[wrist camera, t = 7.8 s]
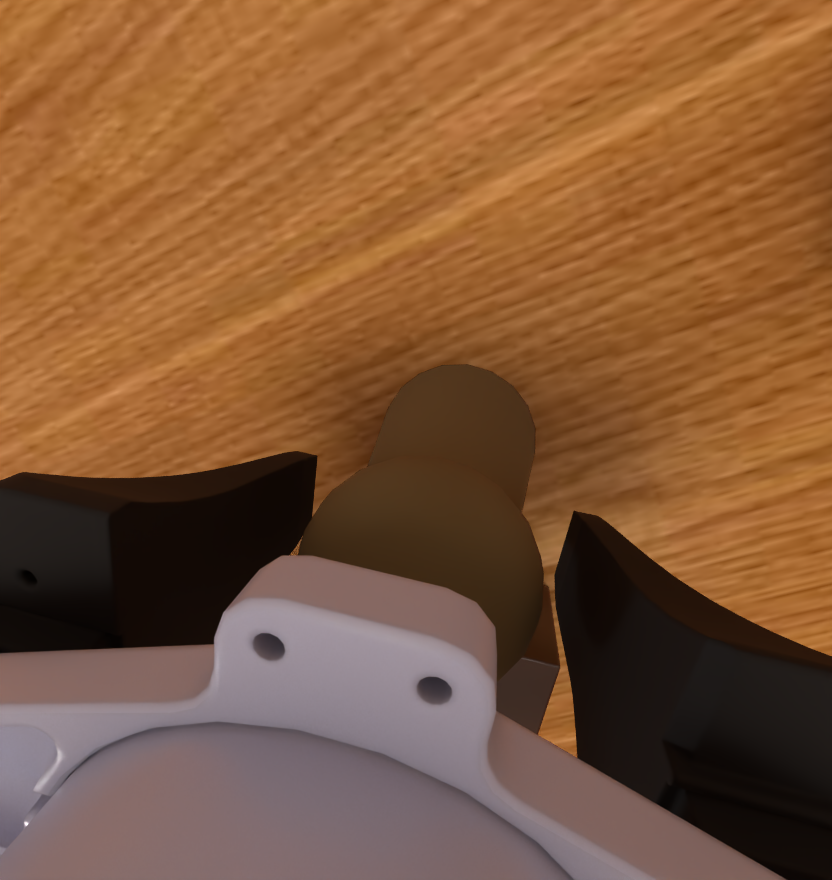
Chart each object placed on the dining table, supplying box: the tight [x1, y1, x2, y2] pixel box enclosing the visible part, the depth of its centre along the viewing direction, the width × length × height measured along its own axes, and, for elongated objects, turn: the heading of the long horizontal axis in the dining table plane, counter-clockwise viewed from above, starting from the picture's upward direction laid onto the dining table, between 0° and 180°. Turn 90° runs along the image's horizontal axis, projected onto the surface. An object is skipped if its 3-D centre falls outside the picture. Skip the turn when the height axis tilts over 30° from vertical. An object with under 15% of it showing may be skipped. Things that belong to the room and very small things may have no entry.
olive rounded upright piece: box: [298, 365, 544, 682], centre depth 14 cm, size 6×6×11 cm
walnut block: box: [496, 586, 560, 735], centre depth 20 cm, size 5×10×4 cm, turn 81°
